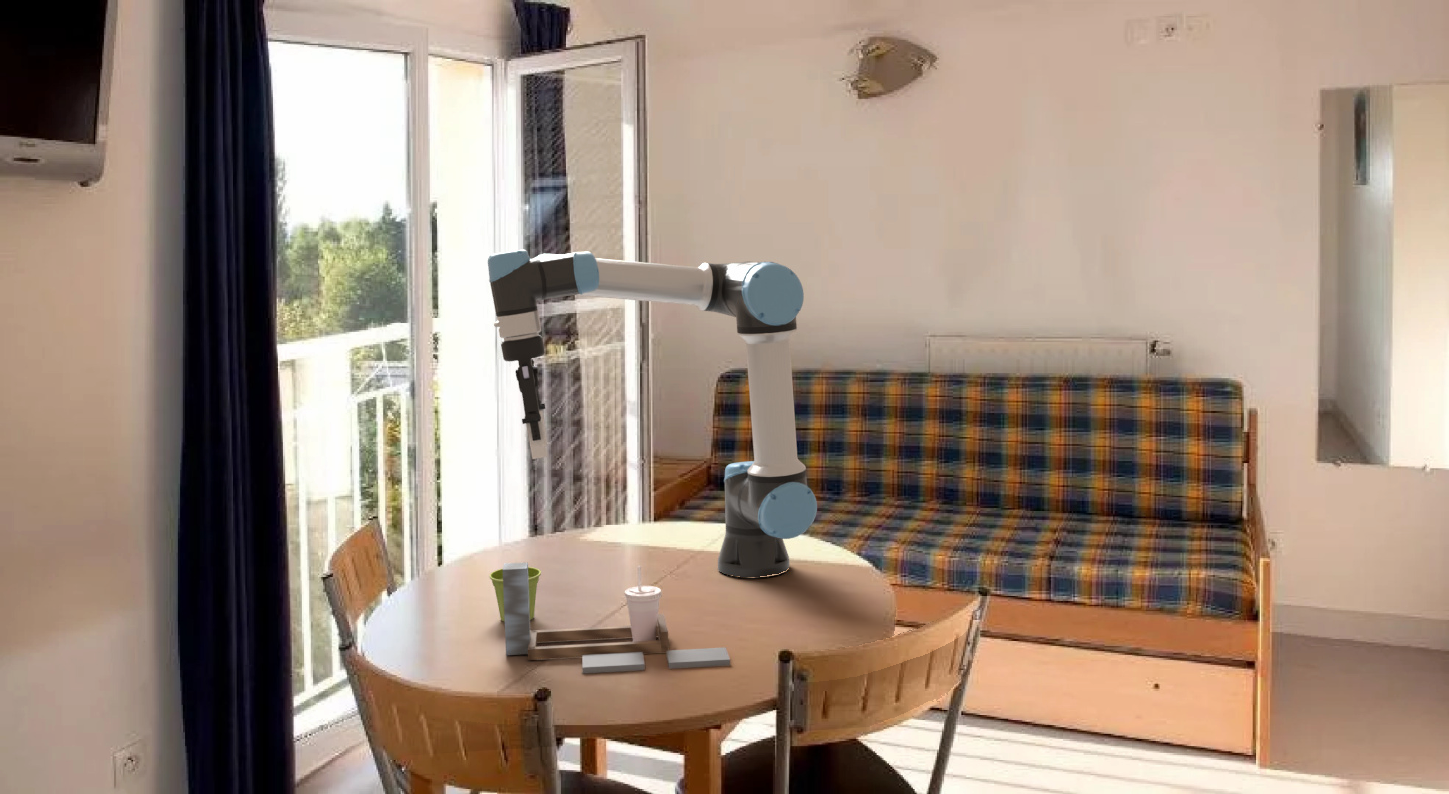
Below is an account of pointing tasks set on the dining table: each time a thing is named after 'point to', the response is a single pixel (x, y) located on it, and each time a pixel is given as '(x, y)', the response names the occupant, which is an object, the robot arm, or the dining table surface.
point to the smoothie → (643, 610)
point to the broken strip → (636, 660)
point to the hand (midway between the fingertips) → (540, 451)
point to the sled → (526, 640)
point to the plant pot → (498, 584)
